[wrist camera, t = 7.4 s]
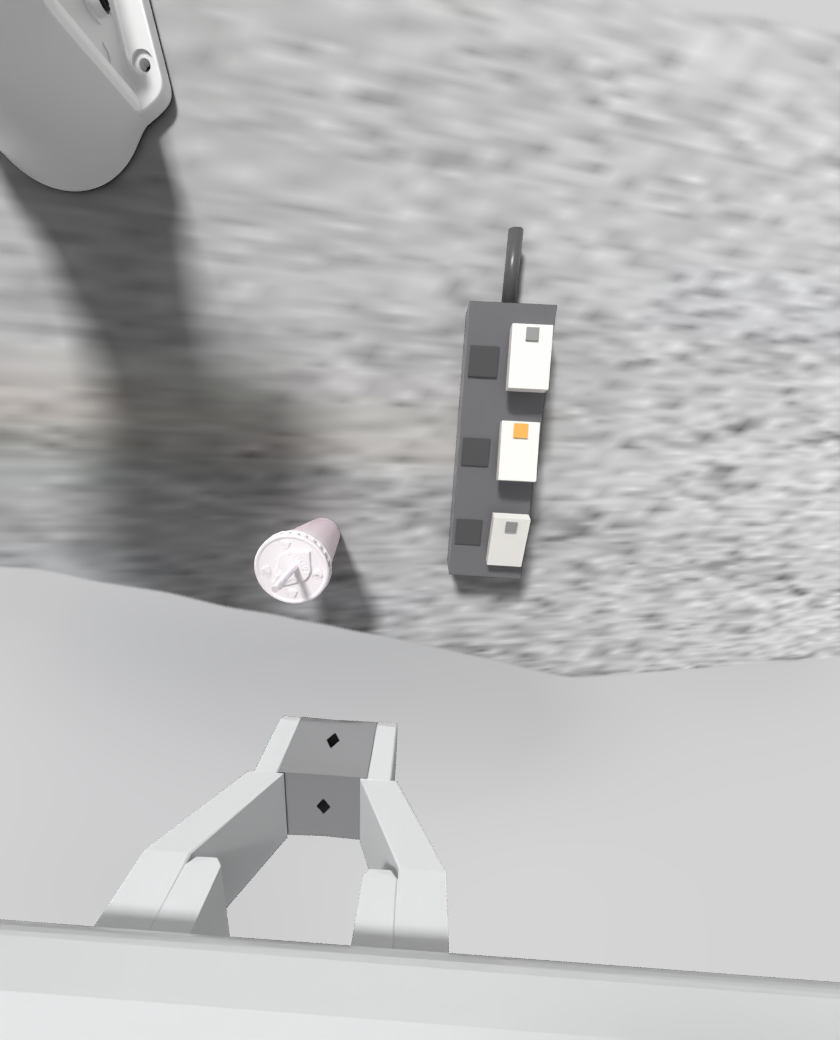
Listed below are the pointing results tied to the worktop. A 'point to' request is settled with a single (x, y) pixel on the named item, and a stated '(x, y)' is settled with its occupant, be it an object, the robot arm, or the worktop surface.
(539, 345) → the plate
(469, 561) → the power strip
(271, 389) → the worktop surface
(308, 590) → the smoothie
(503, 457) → the rocker
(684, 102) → the worktop surface
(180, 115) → the worktop surface
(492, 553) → the block
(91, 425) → the worktop surface
